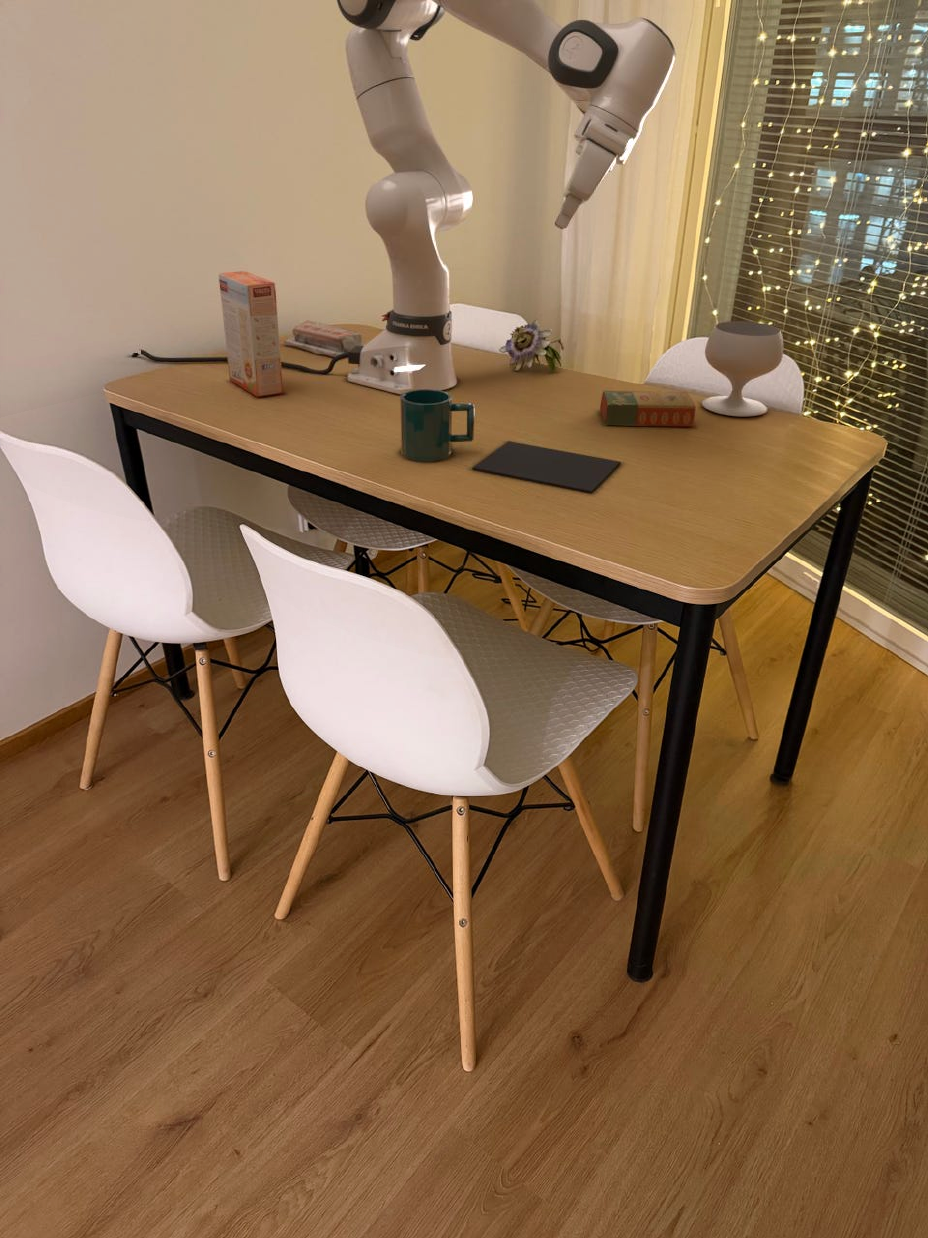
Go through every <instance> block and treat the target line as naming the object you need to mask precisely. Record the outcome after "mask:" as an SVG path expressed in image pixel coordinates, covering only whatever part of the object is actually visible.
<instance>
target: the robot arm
mask: <svg viewBox="0 0 928 1238" xmlns="http://www.w3.org/2000/svg"><path fill="white" fill-rule="evenodd" d="M336 2H337V6H338V9H339V11H340V13H341V14H342V16H343V17H344V18H345V19H346V21H347V22H349V23H350V24H351V25H353V26H354V27H353V28H352V29H351V30H349V32H348V34H347V37H346V39H345V54H346V63H347V67H348V71H349V72H348V73H349V77H350V83H351V85H352V89H353V93H354V97H355V100H356V103H357V106H358V109H359V112H360V115H361V119H362V122H363V125H364V128H365V131H366V134H367V137H368V140H369V143H370V145H371V147H372V149H373V150H374V151H375V152H376V153H377V154H378V155H380V156H381V157H382V158H383V159H384V160H385V161H386V162H387V164H388V165H389V166H390V168H391V169H392V171H393V173H391V174H388V175H386V176H385V177H383V178H381V179H379V180H377V181H375V182H374V183H372V185H371V186H370V187H369V189H368V191H367V193H366V195H365V196H366V197H365V201H364V208H365V215H366V218H367V221H368V223H369V225H370V227H371V228H372V230H373V231H375V233H376V234H377V235H378V236H379V237H380V239H381V240H382V243H383V244H384V247H385V251H386V253H387V256H388V261H389V264H390V270H391V271H390V272H391V282H392V283H391V284H392V285H391V286H392V305H393V306H392V309H391V310H390V311H387V312H386V313H385V314H382V315H381V316H380V317H382V319H381V322H386V325H385V329H383V330H382V331H381V332H380V333H378V334H377V335H376V336H375V337H373V339H371V340H370V341H368V342H367V343H366V345H365V346H355V347H354V348H353V349H351V350H350V351H349V352H347V353H343V354H340V355H338V356H336V357H332V359H331V360H330V362H329V364H328V367H327V368H325V369H315V368H310V367H307V366H304V365H300V364H296V363H291V362H285V361H281V368H287V369H292V370H297V371H302V372H304V373H309V374H312V375H313V374H314V375H327V374H330V373H331V372H332V371H333V370H334V368H335V365H336V363H338V362H339V361H340V360H343V359H347V364H348V365H357V367H356V368H353V369H352V370H351V371H349V372H348V374H347V382H349V383H353V384H358V385H361V386H364V387H369V388H373V389H377V390H381V391H385V392H389V393H393V394H397V395H402V394H403V393H405V392H408V391H412V390H419V389H431V390H439V391H445V390H449V389H451V388H453V387H455V386H456V385H457V383H458V379H457V376H456V372H455V368H454V363H453V362H454V361H453V356H452V346H451V341H452V334H453V333H452V332H453V316H452V311H451V310H450V309H451V308H450V306H451V305H450V300H451V298H450V297H451V272H450V269H449V266H448V264H447V263H446V262H444V261H443V260H442V258H441V256H440V252H439V250H438V246H437V241H436V234H437V233H441V232H446V231H449V230H452V229H453V228H455V227H457V226H458V225H459V224H461V223H462V222H464V221H465V220H466V219H467V218H468V216H469V215H470V213H471V210H472V207H473V191H472V188H471V185H470V183H469V181H468V180H467V178H466V177H465V176H464V175H462V174H461V173H460V172H459V171H458V170H457V169H456V168H455V167H454V166H453V164H452V163H451V162H450V160H449V159H448V156H447V155H446V154H445V152H444V150H443V149H442V146H441V145H440V144H439V142H438V140H437V138H436V136H435V134H434V132H433V129H432V128H431V126H430V123H429V119H428V116H427V115H426V111H425V108H424V105H423V102H422V98H421V95H420V92H419V88H418V86H417V82H416V78H415V75H414V72H413V69H412V66H411V64H410V59H409V54H408V46H409V42H410V40H412V41H415V42H416V41H417V42H418V41H420V40H421V39H423V38H424V37H425V35H426V34H427V32H428V31H429V30H430V29H432V27H433V26H435V25H436V24H437V23H439V22H440V20H441V19H442V18H443V16H444V15H445V13H448V14H449V15H451V16H452V17H454V18H455V19H456V20H459V21H460V22H461V23H464V24H466V25H468V26H469V27H471V28H474V29H475V30H477V31H480V32H482V33H484V34H486V35H487V36H490V37H492V38H493V39H496V40H498V41H500V42H501V43H504V44H506V45H508V46H510V47H512V48H513V49H515V50H517V51H519V52H520V53H522V54H524V55H525V56H527V57H528V58H529V59H530V60H532V61H533V62H535V63H536V64H537V65H539V66H540V67H541V68H542V69H543V70H545V71H546V72H548V73H549V74H550V75H551V77H552V79H553V80H554V82H555V84H556V85H557V86H558V87H559V88H560V89H561V91H562V92H563V93H564V94H566V95H567V97H568V98H569V99H570V100H571V101H572V102H573V103H574V104H575V105H576V107H577V109H578V110H579V112H581V114H582V115H583V116H582V118H581V120H580V123H578V126H577V128H576V130H575V132H574V134H573V138H574V139H575V140H576V141H577V142H578V145H577V147H576V149H575V150H574V151H575V153H576V155H578V158H577V160H576V161H577V162H576V163H575V166H574V168H573V171H572V174H571V176H570V178H569V180H568V181H567V184H566V186H565V187H564V189H563V191H562V192H563V193H562V196H563V198H565V199H564V201H563V203H562V205H561V208H560V210H559V213H558V215H557V216H556V219H555V220H554V223H553V224H554V226H555V228H558V229H560V230H564V229H567V228H568V226H569V224H570V222H571V221H572V219H573V217H574V215H575V214H576V212H577V211H578V209H579V208H580V206H581V205H582V204H585V203H586V202H587V201H589V200H590V199H591V197H592V196H593V195H594V194H595V193H596V191H597V189H598V187H599V186H600V184H601V183H602V181H603V179H604V178H605V177H606V175H607V174H608V172H612V171H613V168H614V166H615V165H616V164H617V165H620V166H624V164H625V163H626V161H627V159H628V157H629V155H630V154H631V152H632V149H633V148H634V146H635V143H636V142H637V140H638V138H639V136H640V134H641V132H642V130H643V129H642V128H643V125H644V122H645V120H646V117H647V116H648V114H649V113H650V112H651V111H652V109H654V107H655V105H656V104H657V102H658V101H659V98H660V96H661V94H662V92H663V90H664V88H665V86H666V83H667V82H668V79H669V76H670V74H671V72H672V69H673V66H674V63H675V61H676V60H675V59H676V55H677V54H676V49H675V46H674V43H673V41H672V40H671V38H670V37H669V35H667V34H666V32H665V31H664V29H662V28H661V27H660V26H658V25H657V24H656V23H655V22H654V21H652V20H650V19H648V18H645V17H636V18H634V19H632V20H630V21H627V22H621V23H601V22H594V21H590V20H588V19H577V20H573V21H572V22H569V23H568V24H566V25H565V26H561V25H560V24H559V23H557V22H556V21H555V20H553V19H552V18H551V17H550V16H549V15H548V14H547V13H546V11H544V9H543V8H542V7H541V6H540V5H539V4H538V2H537V1H536V0H336ZM140 350H141V354H138V353H134V352H133V353H132V354H131V358H138V356H139V355H142V356H144V357H145V358H147V359H149V360H151V361H153V362H157V363H173V364H175V363H176V364H177V363H228V357H227V356H208V357H207V356H206V357H205V356H202V357H198V356H197V357H195V356H194V357H192V356H190V357H189V356H188V357H187V356H186V357H162V356H155V355H153V354H151V353H149V352H148V351H146V350H144V349H140Z"/></svg>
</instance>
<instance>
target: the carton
mask: <svg viewBox="0 0 928 1238" xmlns="http://www.w3.org/2000/svg"><path fill="white" fill-rule="evenodd" d="M696 408H697V407H696V404H695V402H694V401H693V399H692V397H691V395H690V394H689V393H688V392H687V391H686V392H685V391H634V390H633V391H629V390H626V391H625V390H620V391H619V390H603V391H602V395H601V399H600V406H599V410H600V413H601V416H602V419H603V422H604V424H605V426H630V427H631V426H636V427H637V426H638V427H642V426H643V427H684V428H685V427H694V424H695V417H696Z"/></svg>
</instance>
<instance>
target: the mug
mask: <svg viewBox="0 0 928 1238" xmlns="http://www.w3.org/2000/svg"><path fill="white" fill-rule="evenodd" d="M399 405H400V408H399V409H400V451H401V456H402V457H404V458H405V459H407V460H410V461H415V462H420V463H432V462H441V461H443V460H446V459H448V458H449V457H450V456H451V454H452V443H471V442H473V441H474V438H475V405H474V403H472V402H469V403H468V402H467V403H466V402H465V403H453V397H452V394H450V393H448V392H446V391H445V390H441V391H439V390H431V389H419V390H412V391H408V392H405V393H403V394H400V395H399ZM453 412H466V433H464V434H452V433H453V432H452V427H453V426H452V425H453V424H452V423H453Z"/></svg>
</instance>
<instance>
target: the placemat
mask: <svg viewBox="0 0 928 1238" xmlns="http://www.w3.org/2000/svg"><path fill="white" fill-rule="evenodd" d="M620 465H621V461H619V460H614V459H607V458H603V457H598V456H592V455H586V454H580V453H575V452H570V451H564V450H559V449H554V448H548V447H543V446H538V445H537V446H536V445H532V444H528V443H527V444H526V443H522V442H521V443H520V442H515V441H510V440H508V441H507V442H505V443H504V444H502V445H501V446H500V447H498V448H497V449H496V450H494V451H493V452H492V453H490V454H489V455H487V456H486V457H485V458H483V459H482V460H481V461H478V462H477V464H475V465H473V466H472V470H473V471H478V472H483V473H488V474H492V475H498V476H503V477H507V478H512V479H518V480H522V481H527V482H533V483H538V484H542V485H548V486H553V487H558V488H562V489H568V490H573V491H577V492H581V493H588V494H593V493H594V491H596V489H597V488H599V486H601V485H602V484H603V482H604V481H606V479H607V478H608V477H610V475H611V474H612V473H613V472H614V471H616V469H617V468H618V467H619V466H620Z"/></svg>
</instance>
